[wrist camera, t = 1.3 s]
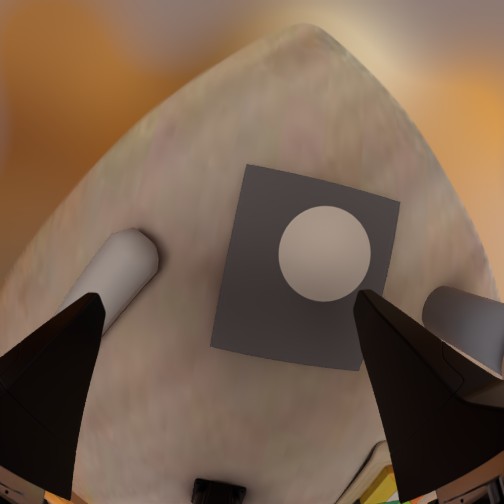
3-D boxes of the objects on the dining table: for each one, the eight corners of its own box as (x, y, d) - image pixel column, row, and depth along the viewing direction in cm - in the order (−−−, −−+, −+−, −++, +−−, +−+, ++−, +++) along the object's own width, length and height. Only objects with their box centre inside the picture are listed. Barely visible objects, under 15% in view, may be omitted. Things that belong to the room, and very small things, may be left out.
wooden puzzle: (320, 517, 26) (323, 533, 23) (373, 438, 25) (382, 455, 21) (411, 504, 26) (417, 517, 22) (467, 426, 25) (479, 437, 21)
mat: (356, 368, 24) (358, 371, 23) (211, 344, 24) (209, 346, 24) (397, 203, 23) (400, 202, 22) (246, 165, 23) (246, 163, 23)
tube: (113, 208, 20) (13, 370, 22) (144, 254, 19) (31, 408, 20) (149, 225, 25) (44, 367, 27) (180, 265, 24) (62, 401, 25)
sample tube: (450, 336, 23) (529, 382, 10) (414, 333, 24) (496, 388, 11) (464, 288, 23) (553, 314, 10) (428, 280, 23) (525, 308, 10)
